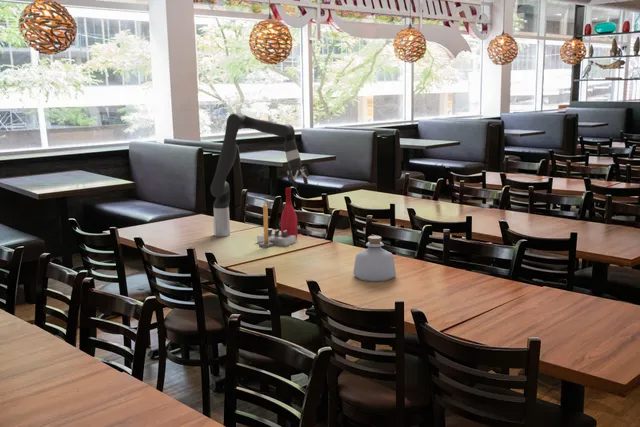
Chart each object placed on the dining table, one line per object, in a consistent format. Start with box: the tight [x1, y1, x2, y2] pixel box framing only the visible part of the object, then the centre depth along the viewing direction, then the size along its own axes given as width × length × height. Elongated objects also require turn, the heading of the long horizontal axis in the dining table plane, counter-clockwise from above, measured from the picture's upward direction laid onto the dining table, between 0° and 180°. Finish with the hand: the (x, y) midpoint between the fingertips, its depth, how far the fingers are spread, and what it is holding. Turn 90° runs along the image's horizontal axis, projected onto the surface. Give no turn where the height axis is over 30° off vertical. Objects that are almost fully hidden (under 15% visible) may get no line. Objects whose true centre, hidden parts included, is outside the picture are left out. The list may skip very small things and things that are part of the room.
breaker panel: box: [256, 232, 297, 247], centre depth 381 cm, size 20×10×4 cm, turn 59°
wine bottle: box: [280, 187, 298, 238], centre depth 389 cm, size 10×10×30 cm
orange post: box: [258, 204, 275, 249], centre depth 370 cm, size 6×6×24 cm
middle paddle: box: [274, 228, 281, 235], centre depth 380 cm, size 1×3×3 cm, turn 149°
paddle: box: [268, 228, 274, 235], centre depth 382 cm, size 1×3×3 cm, turn 150°
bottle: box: [353, 235, 397, 283], centre depth 309 cm, size 20×20×19 cm
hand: (301, 186), depth 375 cm, fingers open, 8 cm apart
